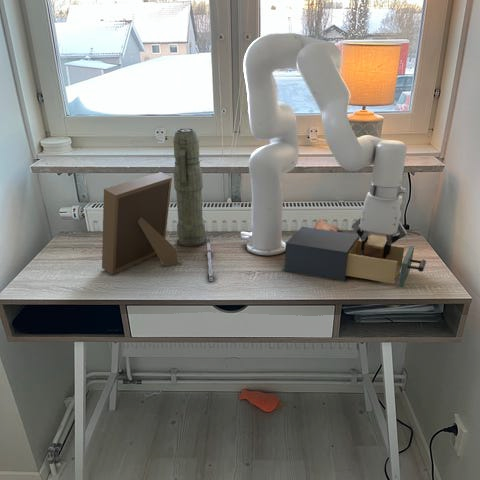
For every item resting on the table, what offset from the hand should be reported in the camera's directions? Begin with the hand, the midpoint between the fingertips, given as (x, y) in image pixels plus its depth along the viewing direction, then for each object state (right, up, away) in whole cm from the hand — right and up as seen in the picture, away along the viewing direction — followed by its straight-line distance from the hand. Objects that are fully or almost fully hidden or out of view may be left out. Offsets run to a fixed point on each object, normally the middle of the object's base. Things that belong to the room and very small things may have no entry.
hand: (374, 254), depth 145 cm
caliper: (-47, -3, +9) cm, 47 cm away
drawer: (+3, -5, +1) cm, 6 cm away
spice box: (0, -1, +1) cm, 1 cm away
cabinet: (-14, -2, +8) cm, 16 cm away
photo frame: (-65, -2, +11) cm, 66 cm away
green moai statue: (-54, +8, +27) cm, 60 cm away
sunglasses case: (-9, +9, +28) cm, 31 cm away
